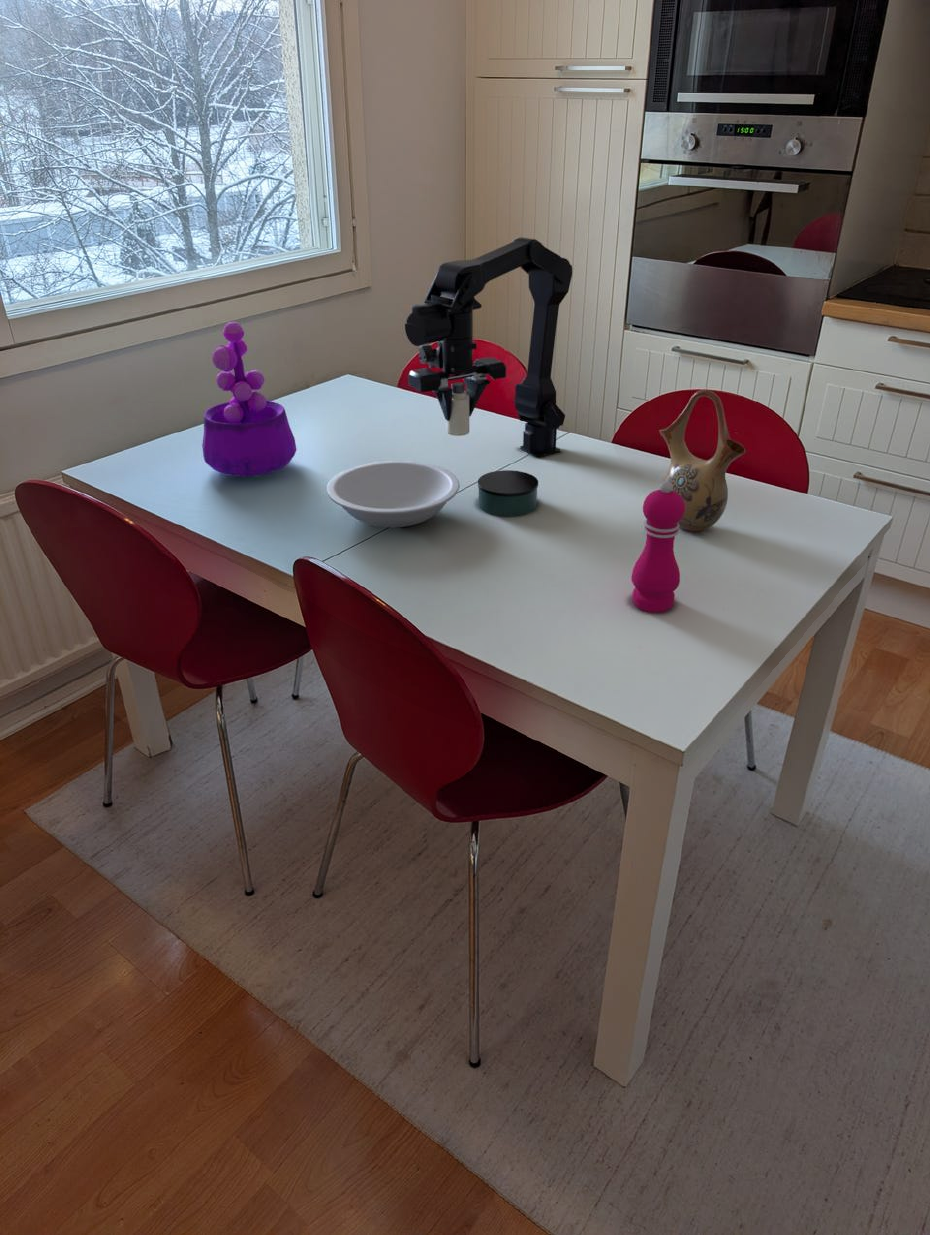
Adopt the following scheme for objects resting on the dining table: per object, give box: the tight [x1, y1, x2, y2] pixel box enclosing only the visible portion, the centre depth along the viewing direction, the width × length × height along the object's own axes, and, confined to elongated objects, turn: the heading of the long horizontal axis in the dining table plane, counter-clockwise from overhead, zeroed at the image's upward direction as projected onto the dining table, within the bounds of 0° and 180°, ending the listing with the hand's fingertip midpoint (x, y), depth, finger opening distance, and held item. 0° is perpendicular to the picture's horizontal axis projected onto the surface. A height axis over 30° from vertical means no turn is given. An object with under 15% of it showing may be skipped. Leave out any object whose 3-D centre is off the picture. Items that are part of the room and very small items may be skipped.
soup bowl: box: [326, 460, 461, 528], centre depth 163 cm, size 24×24×7 cm
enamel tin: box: [477, 469, 539, 517], centre depth 168 cm, size 11×11×5 cm
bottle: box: [446, 381, 470, 437], centre depth 172 cm, size 4×4×10 cm
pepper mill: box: [630, 481, 685, 613], centre depth 132 cm, size 7×7×20 cm
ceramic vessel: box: [658, 389, 747, 533], centre depth 154 cm, size 16×9×25 cm, turn 45°
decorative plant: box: [201, 321, 298, 477], centre depth 178 cm, size 19×18×30 cm
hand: (458, 418), depth 173 cm, fingers closed on bottle, 4 cm apart
